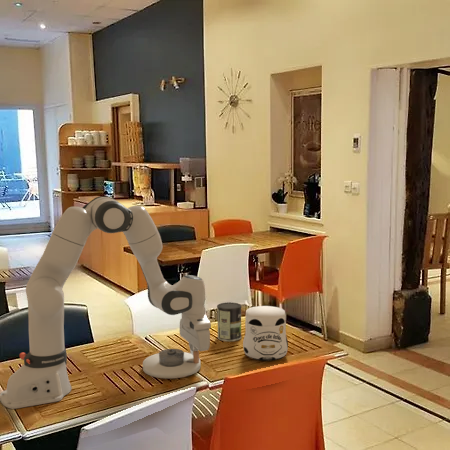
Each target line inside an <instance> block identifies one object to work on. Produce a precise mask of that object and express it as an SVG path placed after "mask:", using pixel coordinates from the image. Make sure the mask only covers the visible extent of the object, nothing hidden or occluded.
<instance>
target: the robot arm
mask: <svg viewBox="0 0 450 450" xmlns="http://www.w3.org/2000/svg"><path fill="white" fill-rule="evenodd" d="M97 229H98V230H100V231H101V232H104V233H106V234H117V233H122V234H123V235H124V236H125V238H126V239H125V240H126V241H127V243H128V246H129V247H130V250H131V251H132V253H133V255H134V257H135V258H136V260H137V262H138V263H139V266H140V269H141V271H142V273H143V277H144V279H145V282H146V285H147V299H148V301H149V303H150V305H151V306H153V307H154V308H156V309H158V310H160V311H162V313H165V314H167V315H169V316H175V315H176V316H177V315H179V314H181V318H180V319H179V320H180V321H179V335H180V337H182V338H183V339H184V340H185V341H186V342H187V343H188V347H189V353H191V354H192V355H193V352H194V351H199V352H203V351H209V349H210V344H211V331H210V329H211V327H212V324H211V321H210V319H208V317H207V316H208V315H207V314H206V312H207V311H206V307H205V303H206V288H205V285H206V284H205V281H204V279H202V278H201V277H200V276H198V275H192V274H191V275H190V274H186V275H183V277H181V279H180V280H179V281H178V282H175V283H174V284H173V285H172V284H171V283H169V282H168V281H167V280H166V279H165V278H164V275H163V273H162V271H161V267H160V265H159V262H158V257H159V256H160V254H161V253H162V251H163V248H164V247H163V242H162V241H163V240H162V236H161V234H160V232H159V230H158V227H157V226H156V224H155V221H154V220H153V218H152V215H150V214H149V212H148V210H147V209H146V208H145V207H144V206H141V205H133V206H130V207H126V206H125V205H123V204H122V203H120V202H119V201H118V200H116V199H115V198H112V197H108V196H106V195H105V196H104V195H101V196H98V197H95V198H93V199H92V200H90V201H89V202H88V203H87V204H85V205H84V206H82V207H81V206H70V207H67V209H66V210H65V211H64V212H63V214H62V215H61V216H60V218H59V220H58V221H57V223H56V225H55V227H54V229H53V231H52V232H51V236H50V237H49V239H48V241H47V244H46V246H45V248H44V250H43V252H42V253H43V254H42V255H41V257H40V258H39V261H38V262H37V264H36V266H35V268H34V269H33V271H32V273H31V275H30V277H29V279H28V281H27V283H26V286H25V294H26V300H27V308H28V309H27V311H28V312H27V313H28V316H27V317H28V342H29V351H28V353H26V352H20V353H19V358H20V359H21V360H22V361H23V365H21V366H20V368H19V369H17V370H16V371H14V373H12V374H11V375H10V376H9V378H8V380H7V384H6V389H4V390H2V391H1V392H0V403H1V404H2V406H4V407H6V408H8V409H13V410H16V409H21V408H27V407H33V406H38V405H42V404H43V405H44V404H49V403H55V402H60V401H62V399H63V398H64V397H65V396H66V395H68V394H69V393H70V392H71V391H72V384H71V383H70V380H69V376H68V371H67V370H68V369H67V363H68V362H67V360H68V356H67V355H68V354H67V350H66V347H65V329H64V325H65V294H64V291H63V288H64V285H65V284H66V282H67V280H68V278H69V276H70V275H71V274H72V272H73V270H74V269H75V268H76V266H77V264H78V261H79V259H80V257H81V256H82V255H81V254H82V253H83V250H84V247H85V246H86V243H87V241H88V239H89V236H91V234H92V232H94V231H95V230H97Z"/></svg>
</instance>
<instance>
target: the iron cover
mask: <svg viewBox="0 0 450 450" xmlns="http://www.w3.org/2000/svg"><path fill="white" fill-rule="evenodd" d="M184 352H185V351H184V350H182V349H179V348H167V349H163V350H161V351H159V352H158V353H159V364H160V365H162V366H165V367H176V366H180V365H182V364H183V363H184Z"/></svg>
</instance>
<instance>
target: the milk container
mask: <svg viewBox="0 0 450 450" xmlns="http://www.w3.org/2000/svg"><path fill="white" fill-rule="evenodd" d="M286 318H287V317H286V310H285V309H283V308H282V307H278V306H272V305H258V306H252V307H249V308H247V309H246V310H245V317H244V320H245V327H244V328H245V331H244V337H243V343H242V347H243V353H244V355H245V356H247V357H248V358H249V359H251V360H255V361H261V362H273V361H277V360H278V361H279V360H281V359H283V358H284V357H285V356H286V355H287V353H288V349H289V348H288V347H289V342H288V338H287V332H286V331H287V330H286V328H287V322H286Z"/></svg>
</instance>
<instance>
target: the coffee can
mask: <svg viewBox="0 0 450 450" xmlns="http://www.w3.org/2000/svg"><path fill="white" fill-rule="evenodd" d="M216 307H217V339H218V340H219V341H222V342H236V341H240V340H241V339H242V304H240V303H238V302H232V301H231V302H222V303H219V304H217V306H216Z"/></svg>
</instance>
